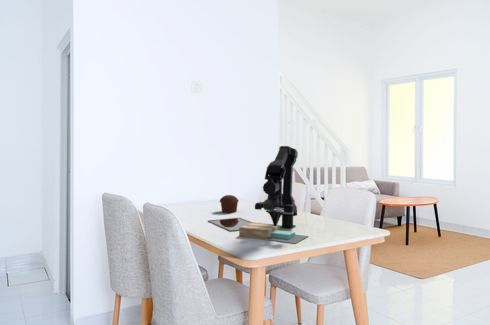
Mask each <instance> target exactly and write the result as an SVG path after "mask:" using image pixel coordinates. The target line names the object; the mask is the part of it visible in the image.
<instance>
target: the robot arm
mask: <svg viewBox="0 0 490 325" xmlns="http://www.w3.org/2000/svg"><path fill="white" fill-rule="evenodd" d="M298 153H299V152H298V150H297V149H296V148H292V147H291V146H289V145H281V146H279V149H278V152H277V154H276V157H275V159H274V160H272V161H271V162H269V164H268V165H267V167H266V171H265V176H264V180H267V181H266V182H264V183H263V186H262V191H263V192H264V193H265V194H266V195H267V198H266V199H264V201H258V202H256V203H255V204H254V210H262V209H263V210H265V212H266V213H268V214H269V216H270V218H271V220H272V224H274V226H277V225H279V224H278V223H279V222H280V218H281V224H280V228H282V229H284V228H285V229H292V228H294V227H295V228H296V226H297V225H295V224H294V217H296V216H298V206H297V205H296V203H295V202H296V201H295V199H294V197H293V194H292V192H293V172H294V171H293V169H294V166H295V164H296V162H297V159H298V156H299V155H298Z"/></svg>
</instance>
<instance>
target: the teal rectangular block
mask: <svg viewBox="0 0 490 325" xmlns="http://www.w3.org/2000/svg"><path fill="white" fill-rule="evenodd" d="M295 233H296V232H295V231H287V230H281V229H280V230H276V231H274V232H271V237H275V238H282V239H291V238H293V237H295Z"/></svg>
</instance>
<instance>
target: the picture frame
mask: <svg viewBox="0 0 490 325" xmlns="http://www.w3.org/2000/svg"><path fill="white" fill-rule="evenodd" d="M207 222H208V223H210V222H211V223H210V224H212V223H213V225H214V224H215V226H217V227H219V228H221V229H222V230H223V229H224V230H226V231H228V232H230V233H231V232H233V233H234V232H239V227H242V226H245V225H248V224H250V223H253V221H251V220H247V219H245V218H242V217H231V218H230V217H229V218H221V219H210V220H207Z"/></svg>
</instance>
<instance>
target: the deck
mask: <svg viewBox="0 0 490 325" xmlns="http://www.w3.org/2000/svg"><path fill="white" fill-rule="evenodd" d="M252 222H253V221H252ZM280 226H281V224H277V226H274V224H273V223H272V224H271V223H263V222H253V223H250V224H248V225H245V226H242V227H239V231H238V233H239V234H238V236H239V237H242V238H249V239H251V238H252V239H256V240H257V239H259V240H266V241H268V240H267V239H269V238H271V232H274V231H276V230H280V231H281V227H280Z"/></svg>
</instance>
